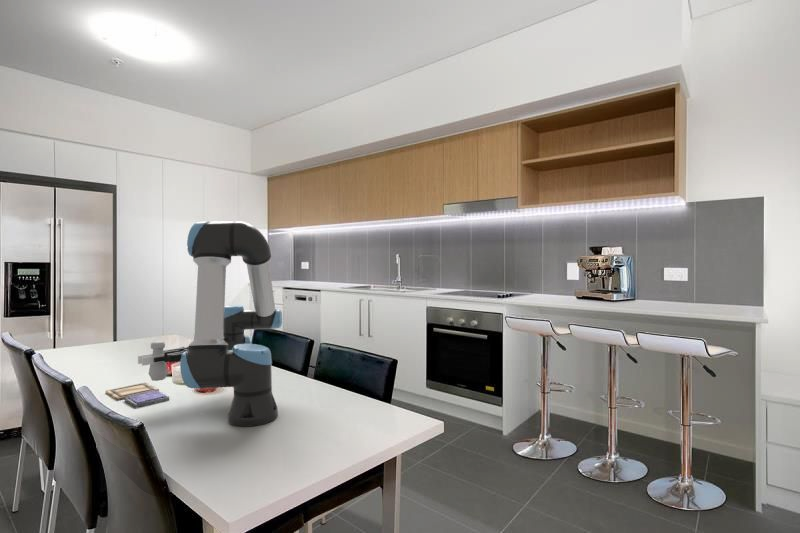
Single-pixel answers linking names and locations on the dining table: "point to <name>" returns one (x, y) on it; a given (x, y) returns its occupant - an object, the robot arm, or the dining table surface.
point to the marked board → (131, 390)
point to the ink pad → (146, 398)
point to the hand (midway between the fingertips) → (140, 360)
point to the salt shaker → (158, 369)
